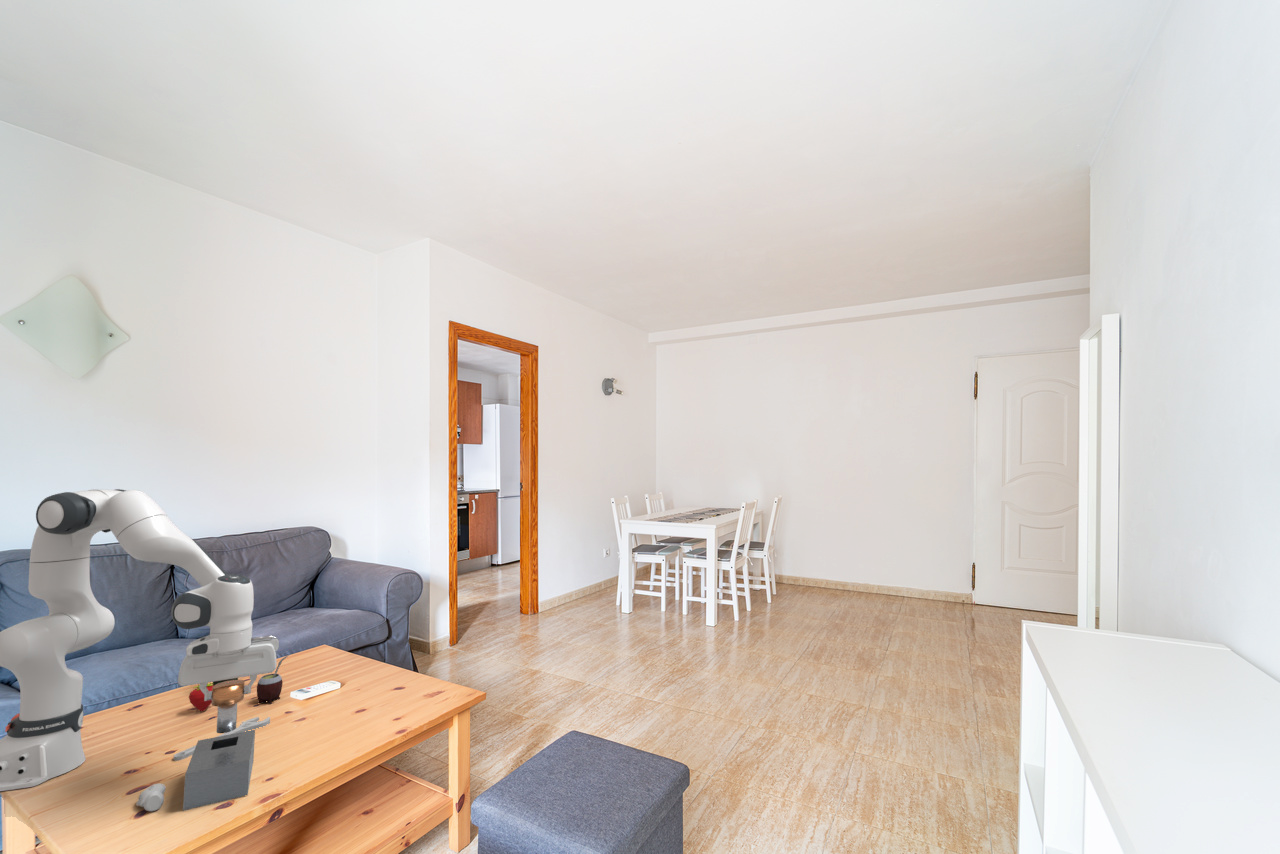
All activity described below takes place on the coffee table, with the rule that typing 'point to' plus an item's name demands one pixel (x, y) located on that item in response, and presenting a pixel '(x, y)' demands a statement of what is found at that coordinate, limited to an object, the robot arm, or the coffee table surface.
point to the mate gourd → (270, 686)
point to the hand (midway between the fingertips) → (228, 696)
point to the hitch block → (219, 769)
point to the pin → (227, 703)
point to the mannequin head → (152, 797)
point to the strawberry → (200, 698)
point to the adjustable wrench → (243, 727)
